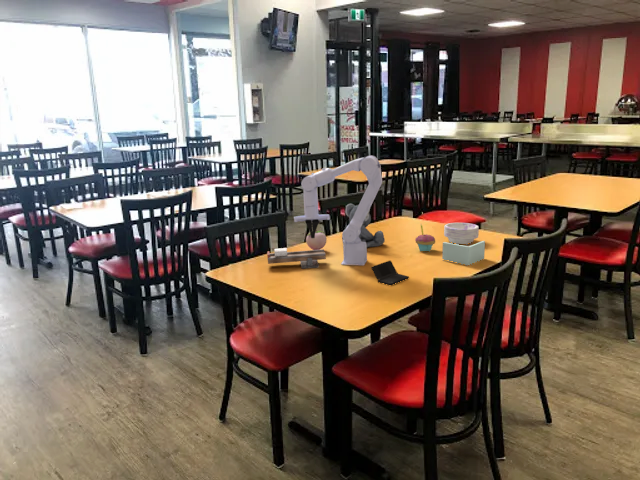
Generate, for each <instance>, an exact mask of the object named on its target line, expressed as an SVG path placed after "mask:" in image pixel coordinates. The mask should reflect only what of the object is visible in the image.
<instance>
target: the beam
mask: <svg viewBox="0 0 640 480" xmlns="http://www.w3.org/2000/svg"><path fill="white" fill-rule="evenodd" d="M266 253H267V254H266V255H267V264H269V265H273V264H282V263H297V262H298V263H299V262H300V261H307V258H312V260H317V261H320V260H327V259H326V258H327V256H326V252H325V249H323V248H322V249H320V250H313V249H309V250H300V251H299V250H298V251H287V256H284V257H275V252H273V253H270V251H267V252H266Z"/></svg>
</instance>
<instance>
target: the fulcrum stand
mask: <svg viewBox="0 0 640 480" xmlns="http://www.w3.org/2000/svg"><path fill="white" fill-rule="evenodd" d="M318 261H319V260H312V258H307V261H299V263H300V267H301V269H302V270H304V269H317V268H320V265H319V262H318Z"/></svg>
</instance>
